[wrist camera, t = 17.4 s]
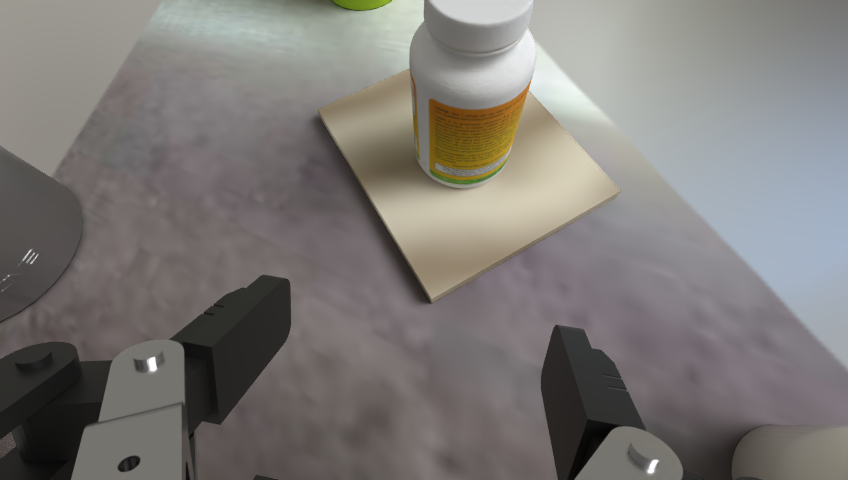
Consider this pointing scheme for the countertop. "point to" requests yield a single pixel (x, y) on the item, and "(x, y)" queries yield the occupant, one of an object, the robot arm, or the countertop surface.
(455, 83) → the supplement bottle
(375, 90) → the ash board
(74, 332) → the countertop surface
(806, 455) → the ceramic jar
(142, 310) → the countertop surface
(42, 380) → the robot arm
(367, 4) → the soap dispenser
